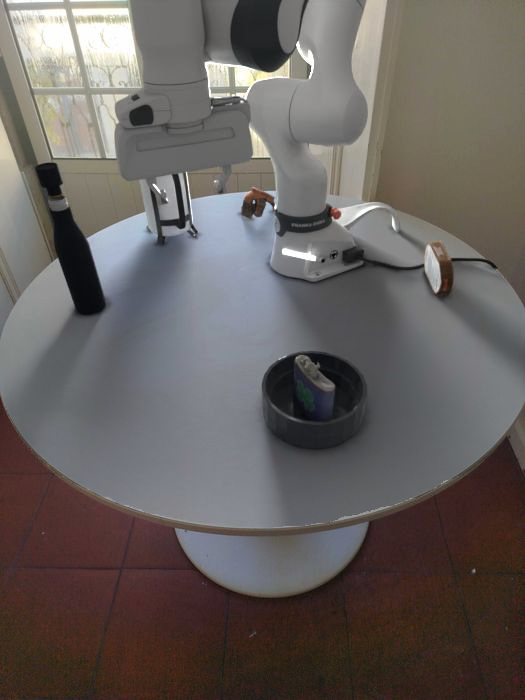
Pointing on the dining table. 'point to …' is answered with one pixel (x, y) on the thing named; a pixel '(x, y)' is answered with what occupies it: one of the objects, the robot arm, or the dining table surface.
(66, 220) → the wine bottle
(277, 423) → the black screw cap
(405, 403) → the dining table surface
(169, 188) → the coffee press
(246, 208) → the orange brown figure
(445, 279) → the tin
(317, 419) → the flask
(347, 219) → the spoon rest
